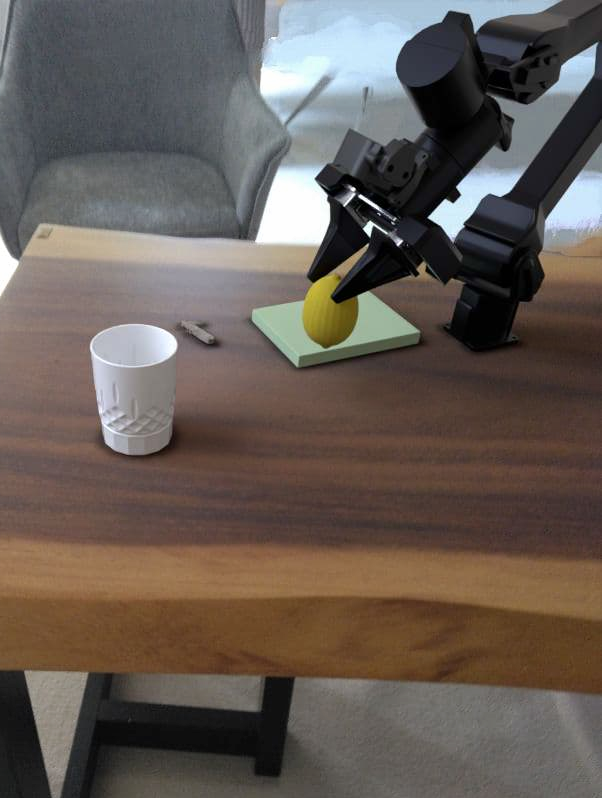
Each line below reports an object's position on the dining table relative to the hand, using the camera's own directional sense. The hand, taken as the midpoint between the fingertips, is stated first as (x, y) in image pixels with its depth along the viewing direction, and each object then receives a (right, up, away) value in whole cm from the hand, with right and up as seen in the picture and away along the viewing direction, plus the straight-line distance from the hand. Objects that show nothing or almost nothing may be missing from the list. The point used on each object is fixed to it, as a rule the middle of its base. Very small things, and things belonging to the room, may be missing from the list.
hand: (321, 290), depth 77 cm
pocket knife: (-12, 0, +16) cm, 20 cm away
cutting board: (+4, 0, +17) cm, 18 cm away
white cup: (-18, -14, +1) cm, 23 cm away
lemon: (+1, -5, +5) cm, 7 cm away
